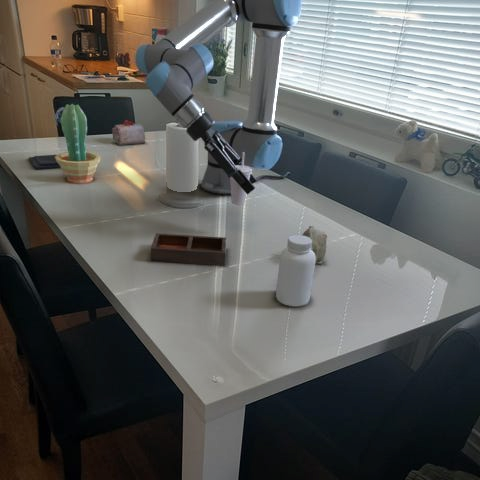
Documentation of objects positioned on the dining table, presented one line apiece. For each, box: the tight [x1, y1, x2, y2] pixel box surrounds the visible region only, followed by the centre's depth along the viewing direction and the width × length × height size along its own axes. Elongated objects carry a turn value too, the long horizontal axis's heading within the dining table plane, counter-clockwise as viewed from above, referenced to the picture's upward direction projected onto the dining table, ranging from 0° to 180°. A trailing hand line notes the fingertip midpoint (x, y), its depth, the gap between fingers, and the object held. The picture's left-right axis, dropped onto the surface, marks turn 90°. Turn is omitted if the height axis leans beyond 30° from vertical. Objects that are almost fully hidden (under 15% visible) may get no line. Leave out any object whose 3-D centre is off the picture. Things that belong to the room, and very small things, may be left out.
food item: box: [111, 119, 146, 146], centre depth 227 cm, size 14×8×10 cm, turn 123°
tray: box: [150, 232, 227, 266], centre depth 132 cm, size 10×19×4 cm, turn 90°
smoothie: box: [230, 152, 253, 206], centre depth 138 cm, size 6×6×14 cm
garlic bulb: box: [301, 225, 328, 264], centre depth 134 cm, size 9×8×10 cm
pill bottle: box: [275, 234, 316, 307], centre depth 113 cm, size 8×8×15 cm
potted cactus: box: [54, 103, 101, 184], centre depth 174 cm, size 15×15×25 cm
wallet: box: [28, 154, 61, 170], centre depth 196 cm, size 20×2×15 cm
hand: (251, 187), depth 139 cm, fingers closed on smoothie, 6 cm apart
